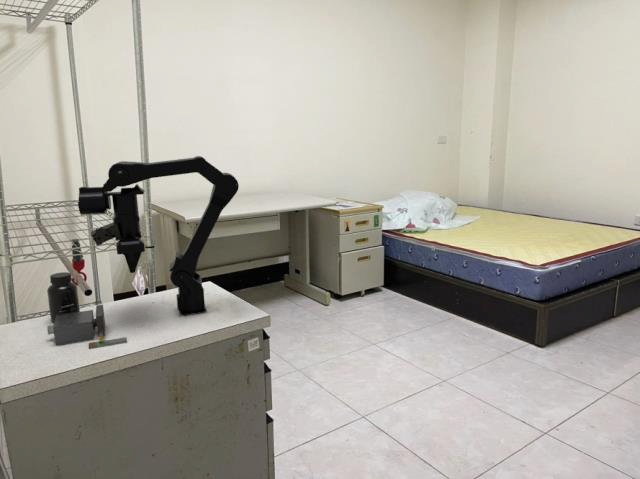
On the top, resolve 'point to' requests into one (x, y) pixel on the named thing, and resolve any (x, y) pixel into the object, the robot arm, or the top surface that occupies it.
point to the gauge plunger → (97, 322)
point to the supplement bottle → (62, 295)
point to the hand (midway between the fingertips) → (132, 272)
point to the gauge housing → (79, 330)
